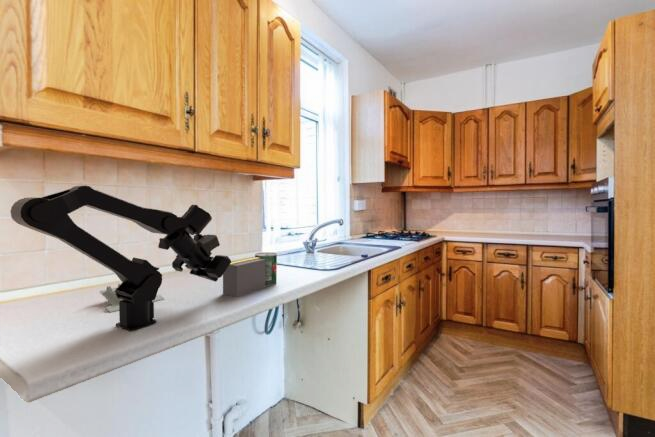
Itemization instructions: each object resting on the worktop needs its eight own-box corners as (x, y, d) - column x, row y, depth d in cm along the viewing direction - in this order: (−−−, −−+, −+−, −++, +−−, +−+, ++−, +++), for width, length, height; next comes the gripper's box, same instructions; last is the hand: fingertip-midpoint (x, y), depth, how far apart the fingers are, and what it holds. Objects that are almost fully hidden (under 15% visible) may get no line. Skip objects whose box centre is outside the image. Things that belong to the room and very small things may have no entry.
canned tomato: (250, 283, 121) (250, 253, 121) (269, 280, 126) (269, 251, 126) (261, 287, 115) (261, 256, 115) (280, 284, 120) (280, 254, 120)
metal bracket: (90, 285, 94) (143, 276, 106) (88, 303, 95) (141, 292, 108) (113, 308, 86) (167, 295, 99) (110, 328, 88) (165, 312, 100)
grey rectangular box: (236, 297, 104) (236, 264, 103) (222, 294, 107) (222, 262, 106) (265, 287, 116) (265, 258, 115) (252, 285, 119) (252, 256, 118)
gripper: (226, 227, 90) (253, 262, 100) (181, 224, 99) (209, 256, 109) (203, 259, 84) (233, 293, 94) (156, 253, 92) (189, 284, 102)
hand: (216, 280), depth 100 cm, fingers closed
